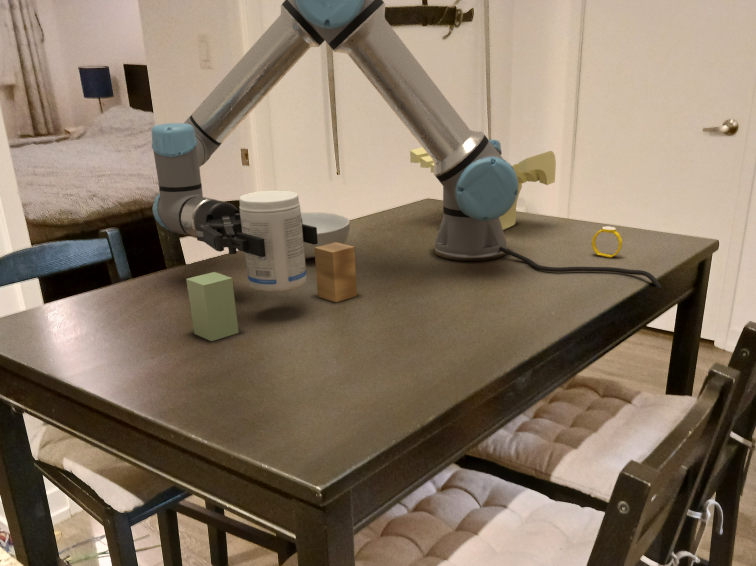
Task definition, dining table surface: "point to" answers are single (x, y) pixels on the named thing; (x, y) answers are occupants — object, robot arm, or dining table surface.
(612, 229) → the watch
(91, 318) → the dining table surface
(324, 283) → the beech block
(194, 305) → the sage block
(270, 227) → the supplement tub
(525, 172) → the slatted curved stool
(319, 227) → the serving bowl
